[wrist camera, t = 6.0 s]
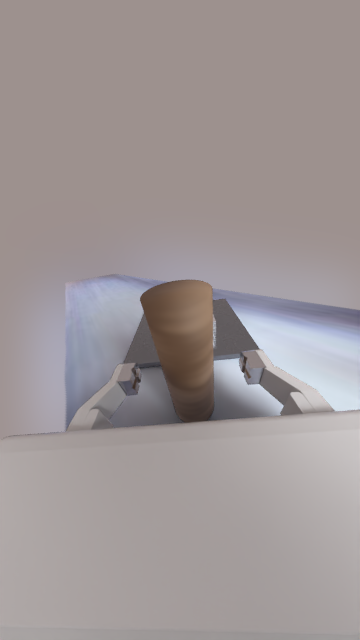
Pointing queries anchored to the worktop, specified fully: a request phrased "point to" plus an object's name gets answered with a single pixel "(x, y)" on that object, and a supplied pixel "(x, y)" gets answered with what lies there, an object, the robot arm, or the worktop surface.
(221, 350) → the plate
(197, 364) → the walnut peg
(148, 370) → the worktop surface
